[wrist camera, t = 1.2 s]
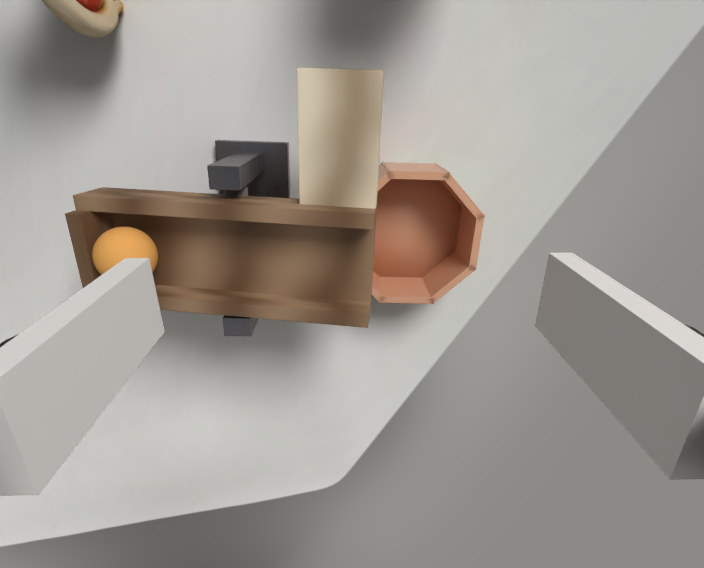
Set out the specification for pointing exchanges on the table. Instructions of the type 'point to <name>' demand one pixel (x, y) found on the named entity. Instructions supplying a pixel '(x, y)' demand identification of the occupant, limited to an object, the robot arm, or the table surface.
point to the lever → (267, 221)
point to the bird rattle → (88, 15)
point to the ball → (123, 248)
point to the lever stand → (250, 188)
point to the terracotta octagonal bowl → (422, 233)
